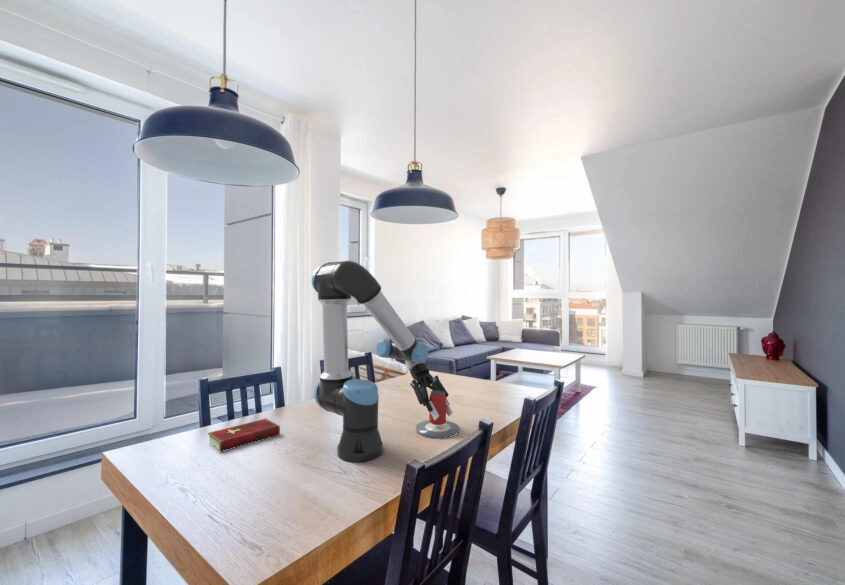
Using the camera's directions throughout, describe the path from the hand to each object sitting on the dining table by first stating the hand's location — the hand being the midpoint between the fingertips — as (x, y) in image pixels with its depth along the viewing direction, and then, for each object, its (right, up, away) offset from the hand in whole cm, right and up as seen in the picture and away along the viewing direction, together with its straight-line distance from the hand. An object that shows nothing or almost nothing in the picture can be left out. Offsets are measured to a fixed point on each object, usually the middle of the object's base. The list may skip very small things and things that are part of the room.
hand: (443, 416), depth 142 cm
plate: (-2, -6, +3) cm, 7 cm away
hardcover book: (-74, -7, -7) cm, 74 cm away
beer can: (-2, -4, +3) cm, 5 cm away
